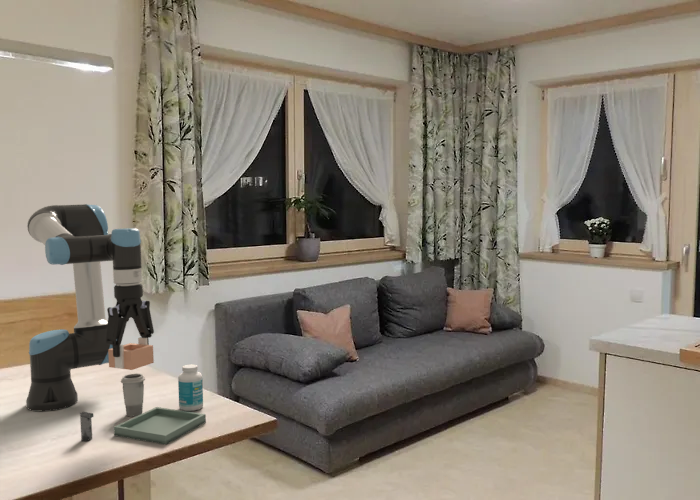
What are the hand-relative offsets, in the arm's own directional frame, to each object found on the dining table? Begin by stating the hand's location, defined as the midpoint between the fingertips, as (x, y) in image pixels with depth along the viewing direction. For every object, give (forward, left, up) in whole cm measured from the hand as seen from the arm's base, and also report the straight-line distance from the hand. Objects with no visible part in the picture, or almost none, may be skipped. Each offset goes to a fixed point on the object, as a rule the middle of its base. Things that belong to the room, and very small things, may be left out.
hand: (132, 363), depth 179 cm
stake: (-9, -9, -20) cm, 24 cm away
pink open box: (0, 0, 0) cm, 0 cm away
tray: (+5, +5, -20) cm, 21 cm away
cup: (-11, +12, -20) cm, 26 cm away
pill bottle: (+2, +23, -20) cm, 31 cm away
